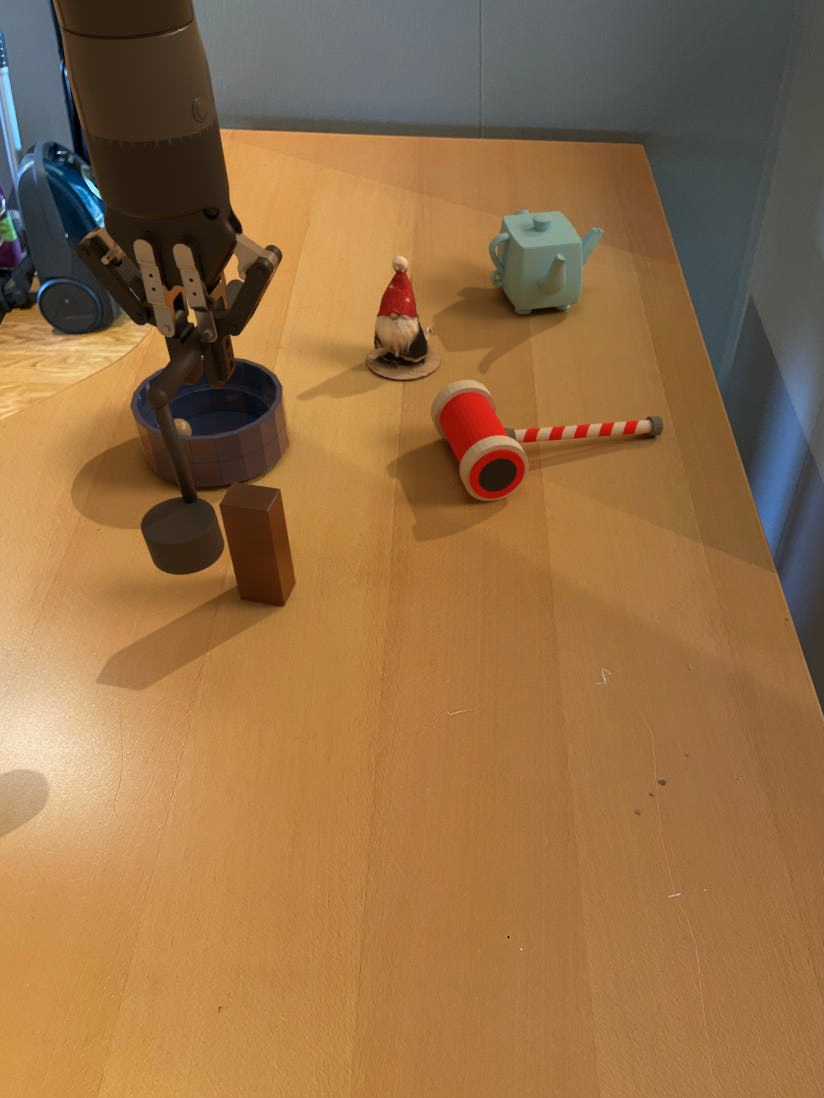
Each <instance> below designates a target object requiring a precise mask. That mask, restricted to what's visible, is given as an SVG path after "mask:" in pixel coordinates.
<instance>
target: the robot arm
mask: <svg viewBox="0 0 824 1098" xmlns="http://www.w3.org/2000/svg"><path fill="white" fill-rule="evenodd" d="M52 2H53V6H54V10H55V14H56V17H57V22H58V23H59V30H60V34H61V38H62V45H63V53H64V61H65V68H66V73H67V77H68V81H69V86H70V89H71V93H72V99H73V104H74V106H75V108H76V111H77V115H78V119H79V123H80V127H81V130H82V133H83V137H84V141H85V145H86V150H87V152H88V157H89V160H90V164H91V168H92V172H93V175H94V179H95V182H96V187H97V190H98V194H99V197H100V199H101V201H102V202H103V204H104V205H105V211H104V212H105V213H104V215H103V226H97V227H95V228H93V230H92V231H91V232H89V233H87V235H86V236H84V237H83V238H82V239H81V241H80V242H79V243H78V244H77V245H76V246H75V252H76V255H77V257H78V258H79V259H80V260H81V261H82V263H83V264H84V265H85V266H86V267H87V268H88V270H89V271H90V272H91V273H92V275H93V276H94V277H95V279H97V280H98V282H99V283H100V284H101V285H102V286H103V288H104V290H106V291H107V293H108V294H109V295H110V296H111V297H112V298H113V300H114V301H115V302H116V303H117V304H118V306H119V307H120V308H121V309H122V310H123V312H124V313H125V314H126V315H127V317H128V318H129V319H130V320H131V321H132V322H133V323H134V324H135V325H138V326H141V327H142V326H145V325H146V324H148V325H149V326H153V327H155V328H157V330H158V332H159V333H160V334H161V335H162V336H163V337H164V341H165V345H166V349H167V354H168V357H169V361H170V360H171V359H172V357H173V356H174V355H175V353H176V352H177V351H178V349H179V348H180V347H181V345H182V344H183V343H184V341H185V340H186V339H187V337H188V336H189V335H190V333H191V332H192V331H193V329H194V328H195V327H196V325H198V329H199V333H200V336H201V337H202V339H201V340H200V346H201V349H202V357H203V360H204V364H205V369H206V374H207V378H208V383H209V386H210V387H212V388H220V389H221V388H222V387H223V386H224V384H225V383H226V381H228V379H229V378H230V376H231V375H232V373H233V372H234V370H235V366H236V362H235V358H236V357H235V352H234V348H233V342H232V337H238V336H240V335H241V333H242V332H243V331H244V329H245V328H246V327H247V325H248V324H249V322H250V321H251V320H252V318H253V317H254V315H255V313H256V311H257V309H258V307H259V305H260V304H261V302H262V300H263V298H264V296H265V294H266V291H267V290H268V288H269V286H270V284H271V282H272V280H273V278H274V276H275V274H276V272H277V270H278V268H279V266H280V264H281V262H282V261H283V252H282V250H281V249H280V247H278V246H276V245H275V244H268V245H266V246H265V247H263V246H261V245H260V244H258V243H257V242H255V241H254V240H252V239H250V238H249V237H248V236H246V235H245V234H244V229H243V225H242V223H241V220H240V219H239V218H238V216H237V214H236V213H235V211H234V209H233V206H232V204H231V198H230V196H231V194H230V182H229V175H228V170H227V165H226V159H225V152H224V147H223V141H222V135H221V130H220V123H219V118H218V112H217V107H216V100H215V94H214V88H213V81H212V77H211V76H212V75H211V70H210V66H209V60H208V57H207V52H206V49H205V46H204V43H203V40H202V37H201V33H200V30H199V25H198V21H197V17H196V11H195V5H194V0H52ZM233 255H235V256H236V258H237V263H238V264H237V272H238V277H239V279H240V280H241V281H242V280H243V281H242V282H243V284H242V286H241V288H240V291H239V293H238V295H237V297H236V299H235V301H234V303H233V305H232V307H229V308H228V304H227V300H226V295H225V291H226V285H227V280H226V275H225V271H224V270H225V269H226V267H227V266H228V264H229V262H230V260H231V259H232V257H233ZM189 309H190V310H193V312H194V316H195V321H196V325H195V322H192V321H189V319H188V318H189V317H190V310H189ZM202 373H203V362H202V358H200V359H199V361H198V362H197V364H196V365H195V366H194V368H193V369H192V371H191V372H190V373H189V375H188V376H187V378H186V379H185V380H184V382H183V384H188V385H195V383H196V382H197V381H198V379H199V378H200V377H201V375H202Z"/></svg>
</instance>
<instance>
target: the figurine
mask: <svg viewBox="0 0 824 1098" xmlns="http://www.w3.org/2000/svg"><path fill="white" fill-rule="evenodd" d="M409 263H410V262H409V260H408V259H407V258H405V257H404V256H402V255H395V256H394V257H393V259H392V261H391V264H392V265H391V266H392V269H393V271H394V272H395V274H394V275H393V276H392V278H391V280H390V282H389V283H388V285H387V287H386V289H385V290H384V292H383V294H382V295H381V299H380V303H379V309H378V312H377V314H376V320H375V324H374V335H373V336H374V337H373V345H374V348H373V349H372V351H370V352H369V353H368V356H367V358H366V363H367V366H368V368H369V369H370V370H371V371H372V372H374V373H375V374H378V375H380V376H382V377H385V378H388V379H392V380H393V379H394V380H401V381H402V380H405V381H406V380H407V381H409V380H410V381H412V380H413V381H414V380H416V379H417V380H418V379H421V378H422V377H426V378H427V377H428V375H431V374H432V373H434V372H437V370H438V369H439V366H440V364H441V361H442V359H441V354H440V352H438V350H437V349H435V347H433V346H431V345H430V344H429V343H428V340H429V338H430V336H431V334H432V333H434V330H433V329H432V327H431V326H430V325H427V326H426V327H425V331H424V329H423V327H422V325H421V322H420V320H419V318H420V315H419V313H418V310H417V302H416V297H415V293H414V290H413V286H412V283H411V280H410V278H409V276H408V274H407V271H408V270H409V265H410V264H409ZM390 353H391V354H393V355H394V356H395V357H396V358H399V357H401V358H402V359H404V360H403V361H402V360H401V361H400V362H399V361H396V360H392V359H387V358H386V357H385V355H387V354H390Z"/></svg>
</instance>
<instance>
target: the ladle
mask: <svg viewBox="0 0 824 1098" xmlns="http://www.w3.org/2000/svg"><path fill="white" fill-rule="evenodd" d="M243 282H244V281H242V279H236V278H234V279H231V280H230V281H228V282H227V283H226V291H225V295H226V300H227V304H228V308H229V307H232V305H233V303H234V301H235V299H236V297H237V295H238V293H239V291H240V288H241V286H242V284H243ZM201 339H202V337H201V336H200V333H199V329H198V325H197V324H196V325H195V328H194V329H193V331H192V332H191V333H190V335H189V336H188V337H187V339H186V340H185V341H184V343H183V344H182V345H181V347H180V348H179V349H178V351H177V352H176V353H175V355H174V356H173V357H172V359H171V360H170V359H169V361H168V363H167V364H166V365H165V367H163V368H164V369H163V371H162V372H161V373H160V375H159V376H158V377H157V379H156V380H155V381H154V383H153V384H152V385H151V387H150V388H149V389H148V391H147V394H146V398H147V401H148V403H149V404H150V405H151V406H152V407H153V409H154V413H155V416H156V419H157V422H158V425H159V428H160V431H161V434H162V437H163V440H164V443H165V446H166V449H167V452H168V455H169V458H170V461H171V464H172V467H173V470H174V473H175V476H176V480H177V483H176V484H177V485H178V488H179V491H180V495H181V496H176V497H172V498H168V499H166V500H165V499H164V500H163V501H161V502H159V503H157V504H155V505H154V506H152V507H151V508H150V509H149V510H148V511H147V512H146V513H144V516H143V517H142V519H141V522H140V531H141V534H142V537H143V539H144V543H145V545H146V547H147V550H148V553H149V555H150V558H151V561H152V563H153V565H154V566H155V567H156V568H157V569H158V570H159V571H161V572H163V573H165V574H169V575H173V576H174V575H175V576H185V575H191V574H196V573H199V572H201V571H203V570H206V569H208V568H210V567H211V566H212V565H214V564H215V563H216V562H217V561H218V560H219V559H220V558H221V556H222V555H223V553H224V551H225V540H224V536H223V533H222V529H221V526H220V523H219V519H218V517H217V513H216V509H215V507H214V506H213V504H211V503H210V502H209V501H208V500H206V499H205V498H201V497H199V496H198V493H197V489H196V486H194V483H193V480H192V477H191V473H190V470H189V467H188V464H187V461H186V457H185V454H184V451H183V448H182V445H181V441H180V438H179V435H178V432H177V429H176V426H175V422H174V419H173V416H172V413H171V410H170V406H169V401H170V400H171V399H172V397H173V396H174V394H175V393H176V392H177V390H178V389H179V387H180V386H181V385H182V383H183V382H184V380H185V379H186V378H187V376H188V375H189V373H190V372H191V371H192V369H193V368H194V366H195V365H196V364H197V362H198V361H199V359H200V358H201V357H203V355H202V349H201V346H200V340H201Z"/></svg>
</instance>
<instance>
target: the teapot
mask: <svg viewBox="0 0 824 1098" xmlns="http://www.w3.org/2000/svg"><path fill="white" fill-rule="evenodd" d="M603 236H604V230H603V229H602V228H598V227H591V229H589V231H587V233H585V235H584V236H583V237H580V235H579V233H578V232H577V230H576V229H575V227H574V226H573V224H572V222H570V221H569V219H568V218H567V217H566V216H565V215H564V214H563V213H562V212H561V211H559V210H552V211H539V212H530V213H529V210H528V209H520V210H517V211H516V212H514V213H513V214H509V215H504V216H503V217H502V219H501V225H500V229H499V233H498V234H496V235H495V236H494V237H492V239H491V240H490V242H489V245H488V254H489V257H490V259H491V262H492V263H493V265H494V267H495V268H496V269H495V270H493V271H492V272H491V274H490V282H491V284H492V285H494V286H496V287H501V288H502V291H503V292H504V294H505V295H506V297H507V298H508V299H509V302H511V304H512V305H513V307H515V308H514V311H515V313H516V314H518V315H528V314H530V313H532V310H534V309H535V310H536V309H546V308H553V307H554V308H555V309H556V310H559V311H566V310H569V309H570V308H571V305H576V304H578V303H579V301H580V298H581V295H582V291H583V280H584V279H583V278H584V274H583V273H584V267H585V265H586V264H587V262H588V260H589V259H590V256H592V254H593V252H594V251H595V249H596V247H597V245H599V242H600V241H601V239H602V237H603ZM496 248H497V252H496ZM497 277H498V278H497Z"/></svg>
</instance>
